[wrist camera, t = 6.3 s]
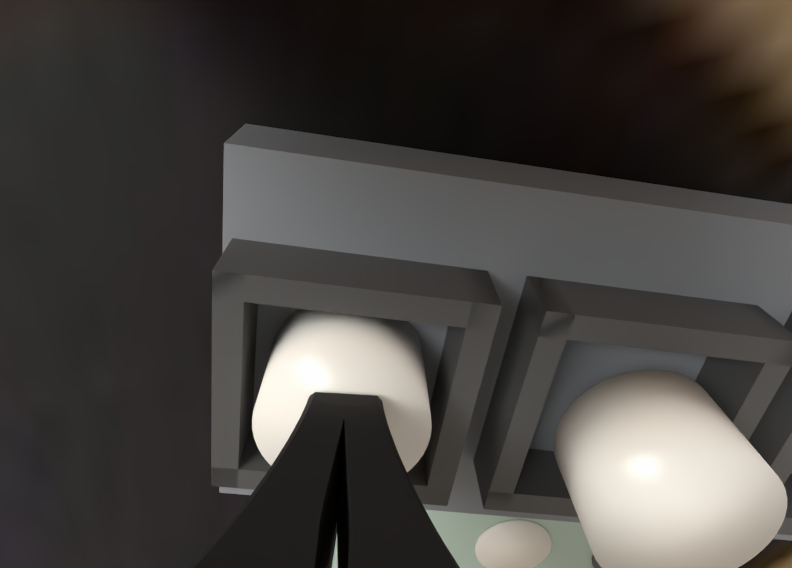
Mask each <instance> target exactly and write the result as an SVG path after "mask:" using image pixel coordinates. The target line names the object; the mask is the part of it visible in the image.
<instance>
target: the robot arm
mask: <svg viewBox="0 0 792 568" xmlns="http://www.w3.org/2000/svg"><path fill="white" fill-rule="evenodd" d="M336 523H337V559H338V568H460V567H459V565H458V564H457V562H456V561H455V559H454V558H453V556H452V554H451V553H450V551H449V550H448V548H447V547H446V545H445V543H444V542H443V540H442V538H441V537H440V535H439V533H438V532H437V530H436V528H435V526H434V525H433V523H432V521H431V519H430V517H429V516H428V514H427V512H426V510H425V508H424V506H423V504H422V502H421V501H420V499H419V497H418V495H417V493H416V491H415V489H414V487H413V485H412V482H411V480H410V478H409V476H408V474H407V471H406V469H405V467H404V465H403V462H402V460H401V458H400V456H399V453H398V451H397V448H396V446H395V443H394V440H393V437H392V435H391V432H390V429H389V426H388V423H387V419H386V416H385V412H384V408H383V402H382V400H381V399H380V398H379V397H378V396H376V395H359V394H342V393H325V392H314V393H313V394H312V395H310V396H309V398H308V401H307V404H306V406H305V408H304V410H303V413H302V415H301V417H300V419H299V421H298V423H297V424H296V426H295V428H294V430H293V432H292V433H291V435H290V437H289V439H288V440H287V442H286V444H285V445H284V447H283V448H282V450H281V452H280V453H279V455H278V456H277V458H276V459H275V461H274V463H273V464H272V466H271V467H270V469H269V470H268V472H267V473H266V475H265V476H264V477H263V479H262V480H261V482H260V483H259V484H258V486H257V487H256V488H255V490H254V491H253V493H252V494H251V495H250V497H249V498H248V499H247V501H246V502H245V504H244V505H243V506H242V508H241V509H240V510H239V511H238V513H237V514H236V515H235V516H234V518H233V519H232V520H231V521H230V523H229V524H228V525H227V526H226V528H225V529H224V530H223V531H222V532H221V534H220V535H219V536H218V537H217V538H216V539H215V540H214V542H213V543H212V544H211V545H210V546H209V547H208V549H207V550H206V551H205V552H204V553H203V554H202V555H201V556H200V557H199V559H198V560H197V561H196V562H195V563H194V564H193V565H192V566H191V567H190V568H329V564H330V558H331V552H332V546H333V541H334V535H335V529H336Z"/></svg>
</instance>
